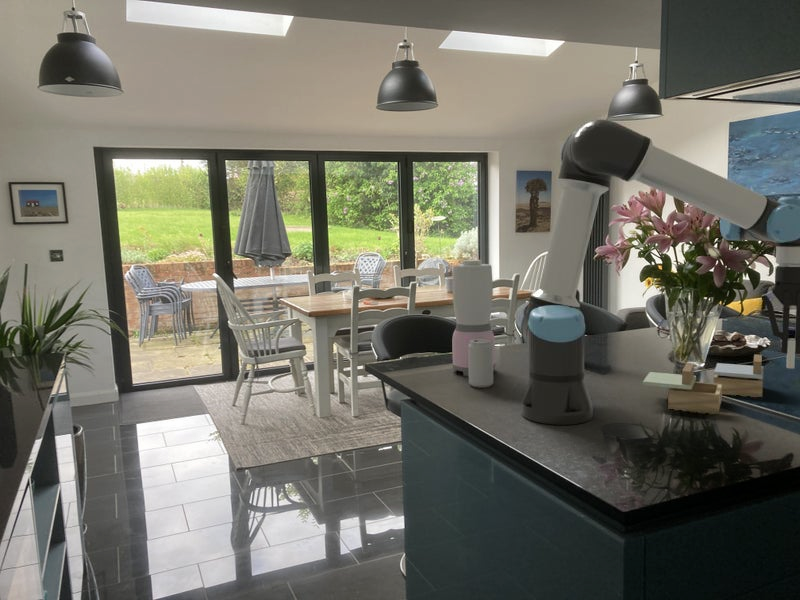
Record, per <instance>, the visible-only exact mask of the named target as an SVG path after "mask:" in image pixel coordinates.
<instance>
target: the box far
mask: <svg viewBox="0 0 800 600" xmlns="http://www.w3.org/2000/svg"><path fill="white" fill-rule="evenodd" d="M763 380H764V378H763V379H756V378H748V380H747V379H736V378H729V376H720V375H714V377H713V383H715V384H722V395H729V396H736V395H740V396H741V397H747V396H750V397H749V398H757V397H762V398H763V387H764V385H763V384H764V383H763V382H764V381H763ZM740 396H739V397H740Z"/></svg>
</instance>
